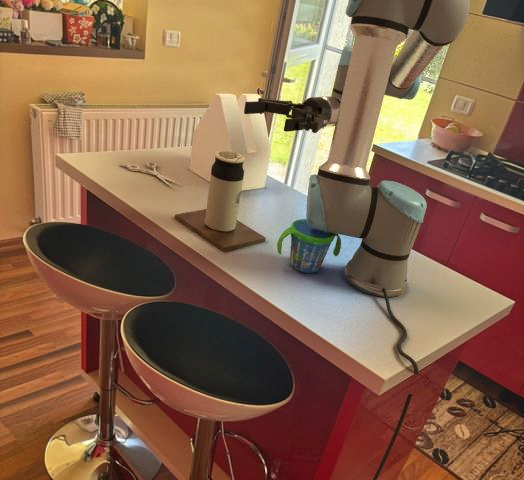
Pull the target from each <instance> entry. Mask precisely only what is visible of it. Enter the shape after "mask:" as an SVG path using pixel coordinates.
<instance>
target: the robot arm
mask: <svg viewBox="0 0 524 480" xmlns="http://www.w3.org/2000/svg"><path fill="white" fill-rule="evenodd" d="M470 9H471V0H348V2H347V6H346V9H345V15H346V16H348V18H351V21H350V25H349V26H350V27H349V29H350V31H351V33H352V35H353V37H354V42H353V45H347V46H345V47H343V49H342V51H341V55H340V58H339V61H338V64H337V69H336V73H335V78H334V83H333V87H332V91H331V94H330V95H329V96H326V95H325V96H312V97H308V98H306V99H305V100H304V101H303V102H298V103H295V102H293V101H292V100H281V99H271V98H262V97H261V98H258V101H254V102H245V109H244V114H258V113H259V114H262V113H264V114H265V113H270V114H276V115H281V116H285V117H286V118H285V121H284V127H283V132H285V133H286V132H287V133H288V132H297V131H306V132H310V130H311V133H313V134H317V133H318V132H319V131H320V130H321V129H322V130H324V129H325V128H327V127H329V128H330V127H334V129H333V134H332V139H331V143H330V146H329V152H328V156H327V160H325V162H324V163H322V164H321V165H319V167H318V170H317V174H316V173H314V174H311V175H309V179H308V181H309V182H308V186H307V196H306V210H305V211H306V213H305V214H306V216H305V217H306V218H305V219H306V220H307V224H308V225H309V227H311V228H313V229H317V230H321V231H324V232H325V233H327V232H330V233H335V234H338V235H339V236H346V237H351V238H354V239H355V238H356V239H360V240H361V242H360V244H359V246H358V248H357V250H356V251H355V252H354V253H353V255H352V258H351V259H349V261H347V263H346V265H345V268H344V271H343V276H344V278H345V280H346V282H348V284H350V285H351V286H352V287H354V288H355V289H356V290H359V291H361V292H363V293H366V294H368V295H373V296H376V297H381V298H384V301H385V306H386V310H387V313H388V316H389V317H390V319H391V320H392V321H393V322H394V323H395V324H396V325H397V326H398V327H399V328H400V330H401V332H402V337H401V338H400V339H399V341H398V342H397V345H396V349H397V352H398V354H399V355H400V356H401V357H403V358H404V359H406V360H407V361H409V363H411V365H412V367H413V371H414V372H413V373H414V374H415V375H416V376H419V375H420V371H419V367H418V363H417V362H416V361H415V359H414V358H413V357H411V356H410V355H408V354H407V353H406V352H404V351H403V350H402V345H403V344H404V342H405V340H406V339H407V337H408V332H407V329H406V327H405V326H404V324H403V323H402V322H401V321H400V320H399V319H398V318H397V317H396V316H395V315H394V313H393V311H392V308H391V303H390V299H389V298H394V297H398V296H401V295H402V294H403V293H404V292H405V290H406V287H407V285H408V260H409V257H410V254H411V252H412V250H413V246H414V244H415V241H416V239H417V237H418V236H417V235H418V234H419V231H420V228H421V225H422V223H423V222H424V218H425V214H426V210H427V207H428V205H427V201H426V199H425V197H424V196H423V195H421V193H419V192H418V191H416V190H415V189H413V188H411V187H409V186H407V185H405V184H402V183H400V182H397V181H393V180H381V181H380V182H379V183H378V184H377V187H375V186H370V181H371V176H370V174H369V172H368V170H367V164H368V161H369V158H370V154H371V149H372V145H373V142H374V137H375V133H376V130H377V126H378V125H377V124H378V122H379V118H380V113H381V110H382V106H383V103H384V97H385V96H388V97H392V98H396V99H398V100H408V101H411V100H414V99H415V98H416V96H417V94H418V92H419V89H420V87H421V83H422V76H423V75H422V73H423V72H424V71H425V70H426V69H427V67H428V66H429V65H430V63H431V62H432V61H433V60H434V59H435V57H436V56H437V55H438V53H439V52H440V51H441V49H443V47H447V46H448V45H450V44H451V43H453V42H454V41H456V39H457V38H458V37H459V36H460V34H461V33H462V31H463V30H464V28H465V26H466V25H467V22H468V18H469V16H470V15H469V14H470ZM410 30H412V31H411V33H410V34H409V31H410ZM408 35H409V36H408ZM405 40H406V41H405ZM404 41H405V43H403V42H404ZM402 43H403V45H402V47H401V49H400V50H399V51H398V53H397V55H396V50H397V47H398V46H399V45H400V44H402ZM395 55H396V56H395ZM290 113H291V114H290ZM413 395H414V393H408V394H407V396H406V399H405V403H404V406H403V408H402V411H401V414H400V417H399V419H398V422H397V425H396V427H395V429H394V432H393V434H392V437H391V439H390V442H389V443H388V446H387V448H386V451H385V452H384V455H383V457H382V458H381V461H380V464H379V466H378V468H377V470H376V472H375V474H374V476H373V479H372V480H378V478H379V476H380V474H381V472H382V470H383V468H384V466H385V464H386V461H387V459H388V457H389V455H390V453H391V451H392V449H393V447H394V444H395V442H396V439H397V437H398V435H399V433H400V430H401V427H402V425H403V422H404V420H405V417H406V415H407V412H408V409H409V407H410V404H411V400H412V397H413Z"/></svg>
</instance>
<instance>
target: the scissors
mask: <svg viewBox="0 0 524 480" xmlns="http://www.w3.org/2000/svg"><path fill="white" fill-rule="evenodd" d="M120 166H121V167H123V168H127V169H128V170H130V171H133V172H141V173H145V174H149V175H152V176H155V177H157V178H158V179H160V180H161V181H162V182H163V183H165V184H166V185H168V186H169V187H171V184H170V183H169V182H168V181H170V182H173V183H176V184H179V185H180V182H177V181H175V180H173V179H171V178H169V177H167V176H164V175H162V174H161V173H160V172H159V171H157V163H155V162H152V161H151V162H150V161H149V162H148V161H147V162H146V167H147V168H148V169H152V170H148V169H144V168H140V166H139V165H135V164H125V163H121V164H120ZM166 180H167V181H166Z"/></svg>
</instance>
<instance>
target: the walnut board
mask: <svg viewBox="0 0 524 480" xmlns="http://www.w3.org/2000/svg"><path fill="white" fill-rule="evenodd" d="M206 209H207V208H203V209H198V210H192V211H187V212H182V213H175V214H174V219H175V220H176V221H178V222H179V223H180V224H181V225H183V226H185V227H186V228H188V229H189V230H191V231H192V232H194V233H195V234H197V235H198V236H199V237H202V238H203V239H204V240H206V241H207V242H209V243H210V244H212V245H213V246H214V247H215V248H217V249H219V250H221V251H222V252H223V253H224V252H228V251H233V250H236V249H237V250H238V249H242V248H245V247H249V246H254V245H257V244H261V243H264V242H266V236H264V235H262V234H261V233H259V232H257V231H256V230H254V229H252V228H251V227H249V226H248V225H246V224H244V223H243V222H241V221H240V220H238V219H237V221H236V227H235V229H233V230H231V231H217V230H213V229H211V228H210V227H208V226H207V225H206V224H205V217H206Z"/></svg>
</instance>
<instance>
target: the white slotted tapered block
mask: <svg viewBox="0 0 524 480" xmlns="http://www.w3.org/2000/svg"><path fill="white" fill-rule="evenodd" d="M258 98H262V96H261V95H260V94H258V93H241V94H240V96H239V97H238V98H237V95H236V94H233V93H215V95H214V96H213V98H212V99H211V101H210V103H209V105H208V107H207V108H206V109H205V111H204V112H203V113H204V114H203V115H202V116H201V118H200V119H199V122H198V124H197V125H196V127H195V129H194V131H193V133H192V143H191V153H190V161H189V170H190V171H191V172H193V173H194V174H196V175H197V176H199V177H201V178H202V179H204V180H206V182H209V183H210V177H211V168H212V165H213V164H214V162H215V156H214V153H215V152H217V151H232V152H236V153H239V154H241V155H243V156H244V157H245V161H244V162H243V169H244V177H243V183H242V190H241V192H243V191H250V190H256V189H263V188H266V180H267V175H268V172H269V171H268V170H269V165H270V159H271V154H272V148H271V143H270V138H269V132H268V126H267V121H266V117H265V112H264V113H262V114H259V113H258V114H244V109H245V102H254V101H258Z"/></svg>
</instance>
